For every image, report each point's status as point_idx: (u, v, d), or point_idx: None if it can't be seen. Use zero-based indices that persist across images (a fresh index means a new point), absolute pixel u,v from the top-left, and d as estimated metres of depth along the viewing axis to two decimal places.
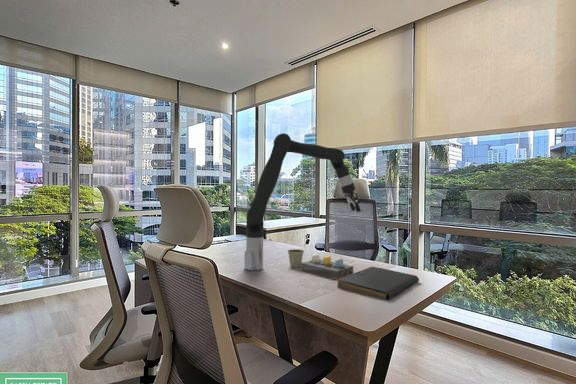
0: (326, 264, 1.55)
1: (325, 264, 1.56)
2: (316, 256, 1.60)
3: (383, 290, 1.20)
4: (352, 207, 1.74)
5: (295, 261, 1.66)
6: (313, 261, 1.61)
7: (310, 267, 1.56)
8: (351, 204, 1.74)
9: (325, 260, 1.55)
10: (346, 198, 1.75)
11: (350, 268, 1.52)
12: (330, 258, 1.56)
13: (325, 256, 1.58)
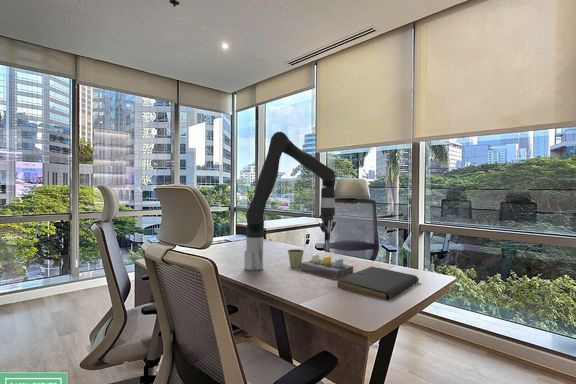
0: (326, 264, 1.55)
1: (325, 264, 1.56)
2: (316, 256, 1.60)
3: (383, 290, 1.20)
4: None
5: (295, 261, 1.66)
6: (313, 261, 1.61)
7: (310, 267, 1.56)
8: None
9: (325, 260, 1.55)
10: None
11: (350, 268, 1.52)
12: (330, 258, 1.56)
13: (325, 256, 1.58)
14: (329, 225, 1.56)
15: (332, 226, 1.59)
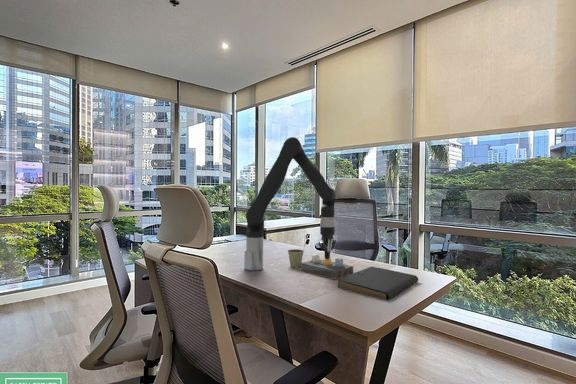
0: None
1: None
2: (316, 256, 1.60)
3: (383, 290, 1.20)
4: None
5: (295, 261, 1.66)
6: (313, 261, 1.61)
7: (310, 267, 1.56)
8: None
9: (325, 262, 1.55)
10: None
11: (350, 268, 1.52)
12: (330, 260, 1.56)
13: None
14: (329, 244, 1.56)
15: (332, 245, 1.59)
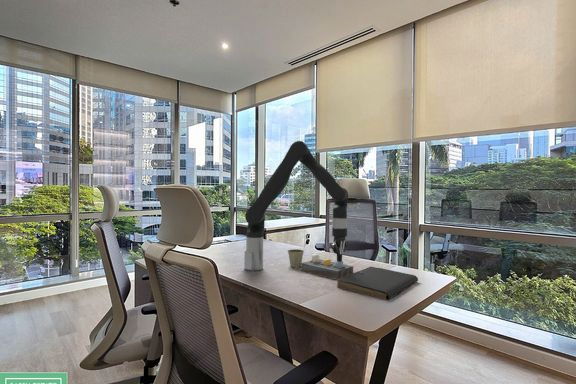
0: None
1: None
2: (316, 256, 1.60)
3: (383, 290, 1.20)
4: None
5: (295, 261, 1.66)
6: (313, 261, 1.61)
7: (310, 267, 1.56)
8: None
9: (325, 263, 1.55)
10: None
11: (350, 268, 1.52)
12: (330, 261, 1.56)
13: (325, 259, 1.58)
14: (341, 246, 1.51)
15: (344, 247, 1.54)
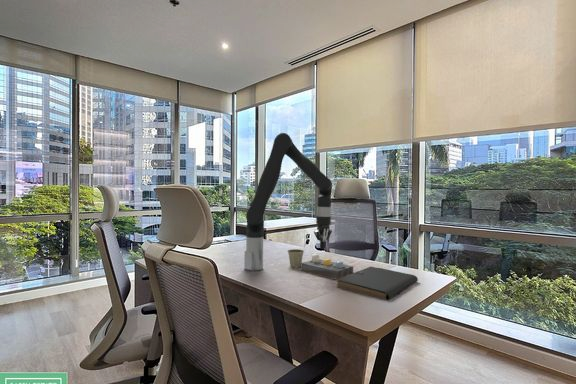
0: None
1: None
2: (316, 256, 1.60)
3: (383, 290, 1.20)
4: None
5: (295, 261, 1.66)
6: (313, 261, 1.61)
7: (310, 267, 1.56)
8: None
9: (325, 263, 1.55)
10: None
11: (350, 268, 1.52)
12: (330, 261, 1.56)
13: (325, 259, 1.58)
14: (325, 234, 1.57)
15: (328, 235, 1.60)
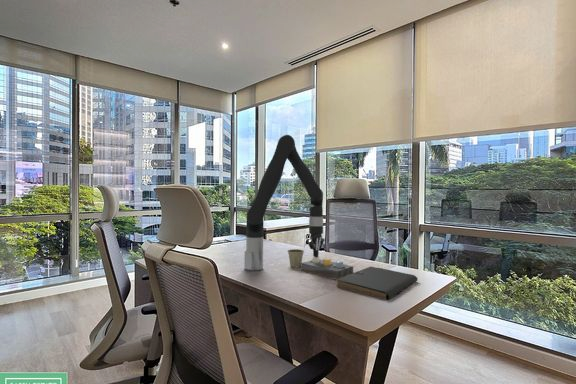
0: None
1: None
2: (316, 258, 1.60)
3: (383, 290, 1.20)
4: None
5: (295, 261, 1.66)
6: None
7: (310, 267, 1.56)
8: None
9: (325, 263, 1.55)
10: None
11: (350, 268, 1.52)
12: (330, 261, 1.56)
13: (325, 259, 1.58)
14: (317, 243, 1.61)
15: (320, 243, 1.64)
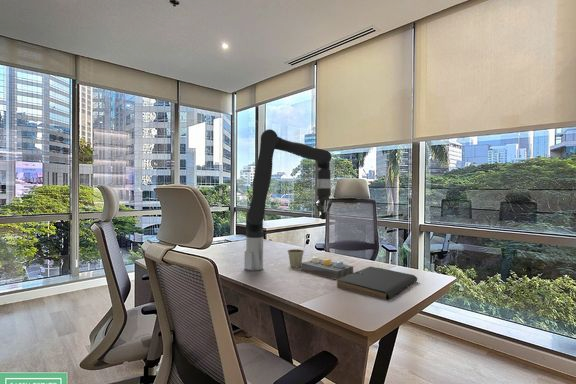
0: None
1: None
2: (316, 259, 1.60)
3: (383, 290, 1.21)
4: None
5: (295, 261, 1.66)
6: None
7: (310, 267, 1.56)
8: None
9: (325, 263, 1.55)
10: None
11: (350, 268, 1.52)
12: (330, 261, 1.56)
13: (325, 259, 1.58)
14: (325, 205, 1.63)
15: (328, 206, 1.66)
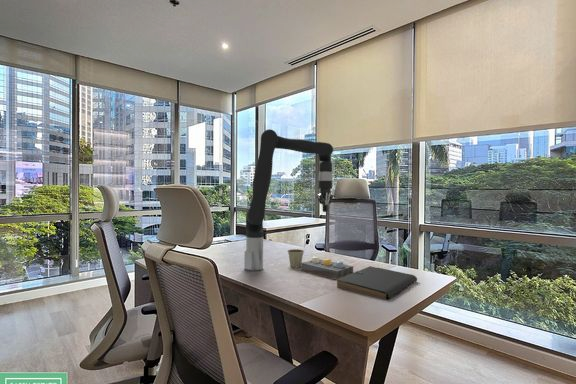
0: None
1: None
2: (316, 259, 1.60)
3: (383, 290, 1.21)
4: None
5: (295, 261, 1.66)
6: None
7: (310, 267, 1.56)
8: None
9: (325, 263, 1.55)
10: None
11: (350, 268, 1.52)
12: (330, 261, 1.56)
13: (325, 259, 1.58)
14: (327, 197, 1.64)
15: (330, 199, 1.67)
